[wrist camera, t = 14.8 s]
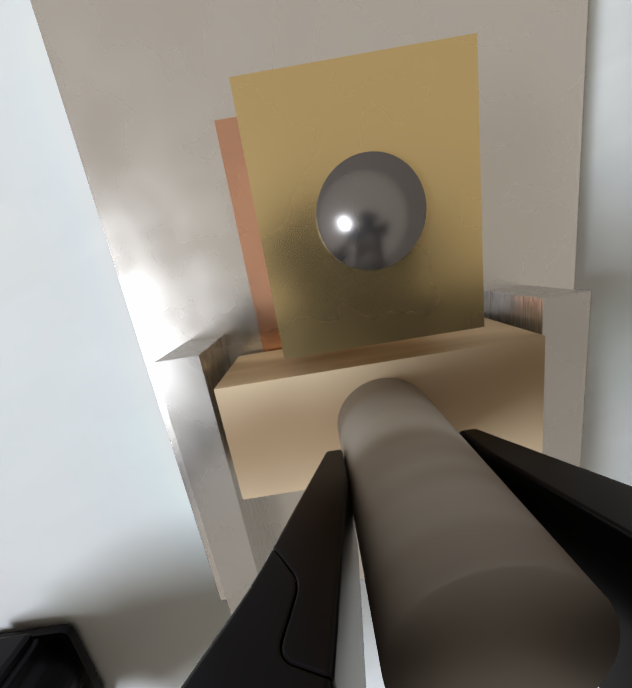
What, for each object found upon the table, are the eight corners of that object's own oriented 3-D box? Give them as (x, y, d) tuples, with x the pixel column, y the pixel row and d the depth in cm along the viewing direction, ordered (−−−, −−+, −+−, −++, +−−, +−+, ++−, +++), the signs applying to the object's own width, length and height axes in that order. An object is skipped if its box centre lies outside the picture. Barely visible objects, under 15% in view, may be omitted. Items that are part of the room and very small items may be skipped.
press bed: (540, 525, 17) (617, 612, 13) (228, 572, 18) (201, 673, 13) (556, -66, 11) (719, -285, 7) (63, 24, 11) (-92, -127, 7)
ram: (483, 405, 13) (858, 707, 4) (258, 441, 14) (157, 805, 4) (481, 316, 12) (964, 461, 3) (238, 356, 13) (54, 599, 3)
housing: (415, 302, 12) (488, 328, 7) (293, 322, 12) (283, 361, 7) (402, 135, 11) (482, 24, 6) (263, 159, 11) (226, 71, 6)
